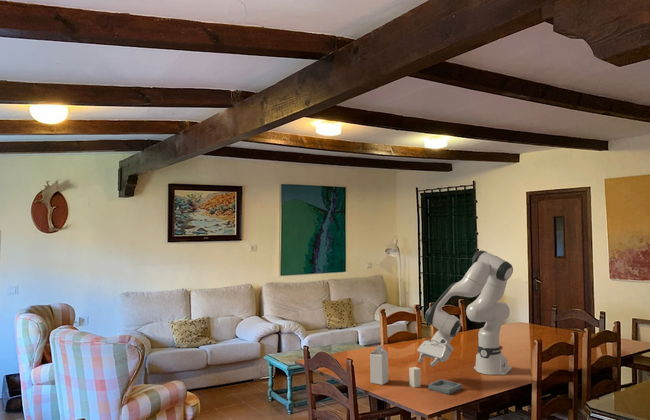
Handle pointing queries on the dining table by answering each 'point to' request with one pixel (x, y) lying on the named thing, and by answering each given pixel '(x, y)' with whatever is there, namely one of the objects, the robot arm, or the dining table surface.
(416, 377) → the cream block
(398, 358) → the dining table surface
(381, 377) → the milk carton
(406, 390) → the dining table surface
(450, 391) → the grey tray
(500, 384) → the dining table surface
